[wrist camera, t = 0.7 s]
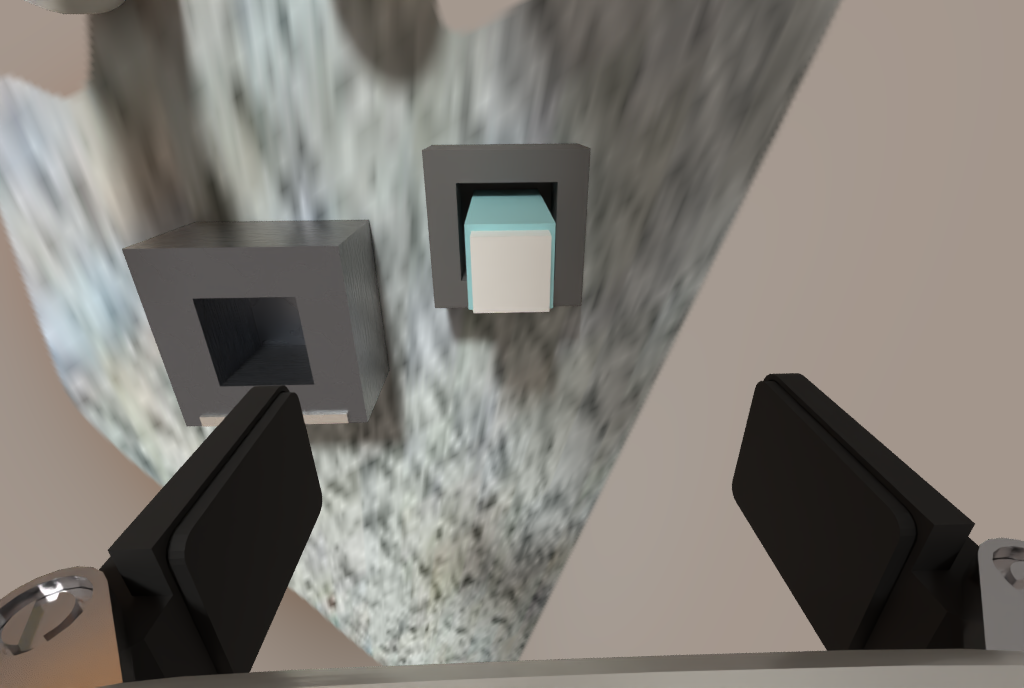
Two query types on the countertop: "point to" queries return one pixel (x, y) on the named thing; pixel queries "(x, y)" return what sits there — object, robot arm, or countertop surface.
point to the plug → (509, 252)
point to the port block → (265, 315)
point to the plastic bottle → (78, 6)
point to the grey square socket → (505, 168)
